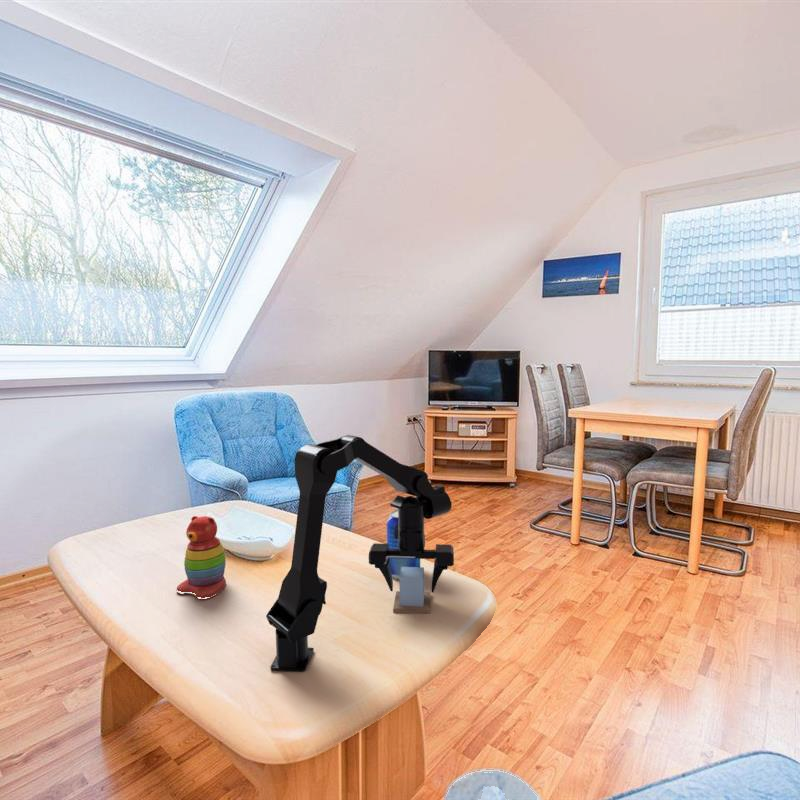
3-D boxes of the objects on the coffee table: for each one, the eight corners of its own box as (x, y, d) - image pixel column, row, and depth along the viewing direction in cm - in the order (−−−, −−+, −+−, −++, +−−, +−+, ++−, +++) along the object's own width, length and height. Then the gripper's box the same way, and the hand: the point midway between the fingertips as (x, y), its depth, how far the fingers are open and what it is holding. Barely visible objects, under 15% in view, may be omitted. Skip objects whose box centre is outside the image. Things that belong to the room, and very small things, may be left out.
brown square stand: (429, 613, 108) (429, 587, 107) (393, 612, 109) (392, 586, 108) (430, 595, 116) (430, 571, 115) (396, 594, 117) (395, 570, 116)
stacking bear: (172, 593, 119) (167, 521, 117) (205, 575, 128) (201, 508, 127) (205, 602, 115) (201, 527, 113) (237, 583, 124) (233, 513, 122)
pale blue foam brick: (423, 606, 109) (422, 577, 109) (399, 605, 110) (399, 577, 109) (424, 594, 115) (423, 567, 114) (401, 594, 115) (401, 566, 114)
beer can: (423, 568, 130) (423, 509, 129) (416, 583, 122) (415, 519, 121) (392, 565, 133) (391, 507, 131) (383, 579, 125) (382, 517, 123)
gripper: (452, 512, 118) (452, 575, 119) (374, 511, 119) (375, 574, 121) (453, 529, 107) (454, 598, 108) (367, 528, 108) (369, 596, 110)
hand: (412, 590), depth 112 cm, fingers open, 9 cm apart
